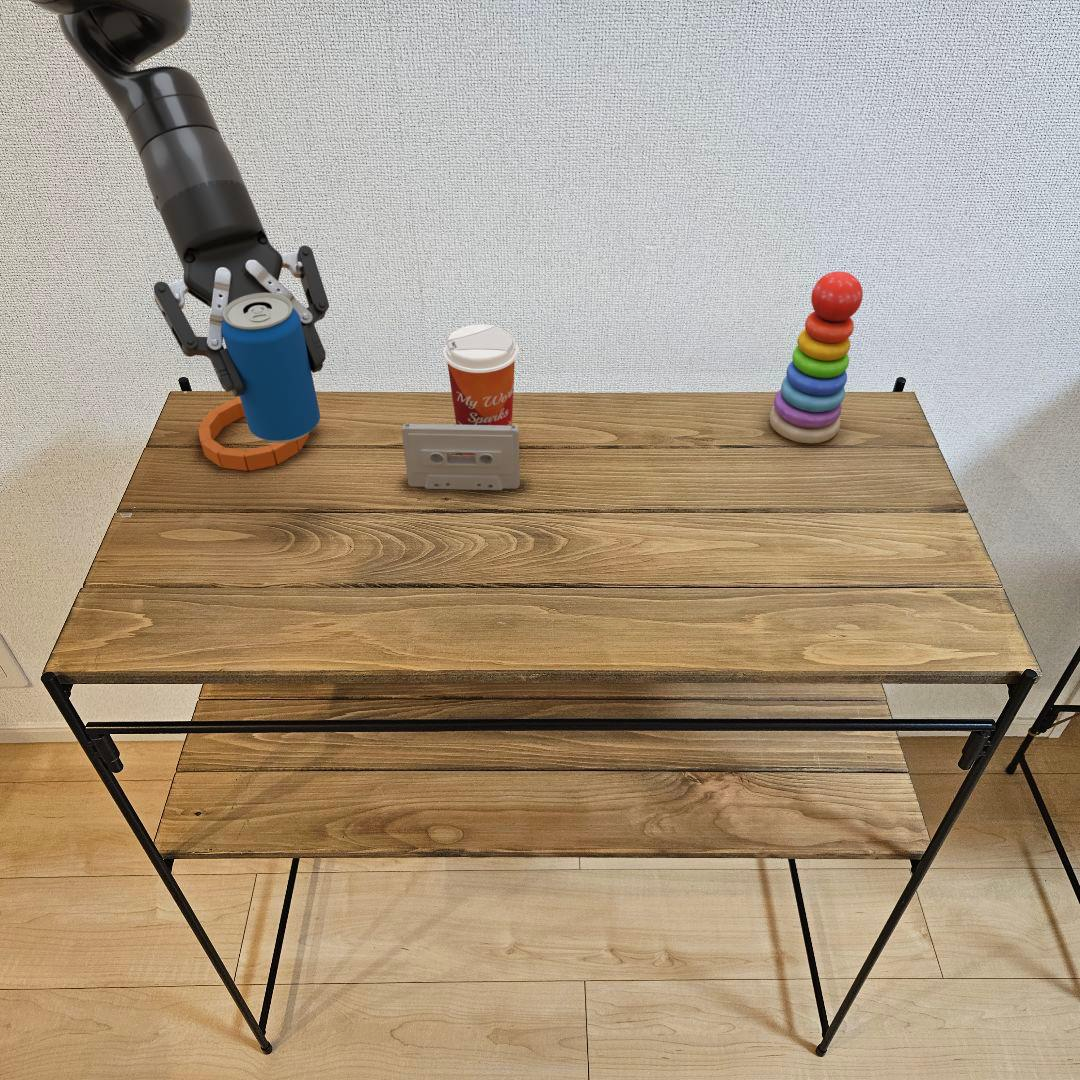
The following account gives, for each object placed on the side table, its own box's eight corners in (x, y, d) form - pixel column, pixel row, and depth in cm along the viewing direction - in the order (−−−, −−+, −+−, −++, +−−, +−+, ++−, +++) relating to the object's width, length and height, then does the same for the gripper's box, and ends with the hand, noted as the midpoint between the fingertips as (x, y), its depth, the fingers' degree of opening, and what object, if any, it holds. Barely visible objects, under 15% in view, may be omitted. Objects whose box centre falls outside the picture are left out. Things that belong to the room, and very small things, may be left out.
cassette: (407, 489, 95) (399, 431, 89) (409, 478, 96) (402, 420, 91) (519, 491, 94) (518, 433, 89) (520, 480, 96) (519, 422, 90)
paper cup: (458, 477, 96) (450, 366, 86) (445, 436, 101) (435, 327, 92) (528, 465, 98) (527, 354, 88) (511, 425, 103) (509, 317, 93)
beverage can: (314, 400, 85) (290, 285, 77) (327, 439, 80) (303, 321, 72) (245, 414, 83) (213, 298, 75) (255, 454, 79) (222, 335, 71)
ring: (208, 479, 96) (203, 465, 94) (199, 419, 104) (195, 405, 102) (315, 457, 99) (312, 442, 97) (299, 400, 107) (296, 386, 105)
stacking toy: (845, 447, 100) (890, 295, 87) (774, 446, 100) (809, 294, 87) (830, 407, 106) (870, 258, 93) (762, 406, 106) (794, 257, 93)
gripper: (113, 197, 70) (198, 396, 71) (288, 160, 75) (365, 345, 76) (119, 236, 76) (196, 417, 77) (278, 200, 82) (349, 369, 83)
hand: (279, 380), depth 77 cm, fingers closed on beverage can, 6 cm apart
